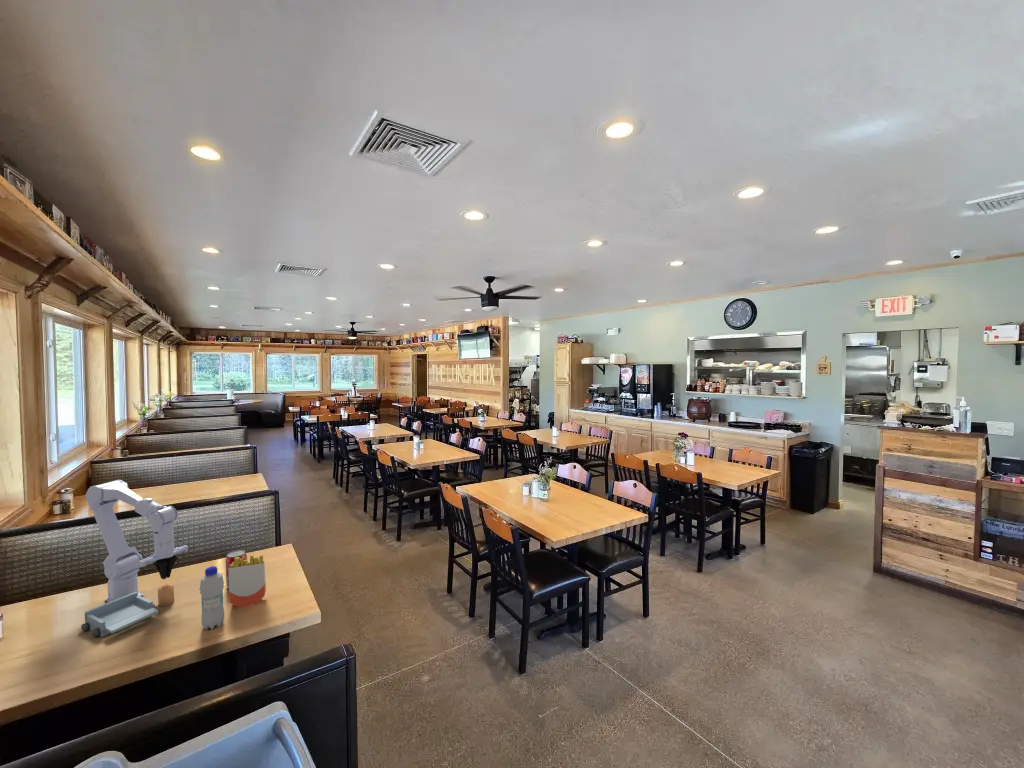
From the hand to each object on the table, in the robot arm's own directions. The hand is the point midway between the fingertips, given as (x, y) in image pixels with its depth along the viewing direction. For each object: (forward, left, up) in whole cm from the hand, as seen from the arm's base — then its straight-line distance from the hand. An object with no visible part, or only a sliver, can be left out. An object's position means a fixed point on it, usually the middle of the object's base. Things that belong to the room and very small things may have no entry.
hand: (165, 577), depth 158 cm
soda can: (+11, +19, -10) cm, 24 cm away
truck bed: (-1, -13, -9) cm, 16 cm away
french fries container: (+27, +13, -10) cm, 31 cm away
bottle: (+30, -1, -10) cm, 32 cm away
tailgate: (+5, -13, -7) cm, 16 cm away
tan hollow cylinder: (0, 0, -9) cm, 9 cm away
